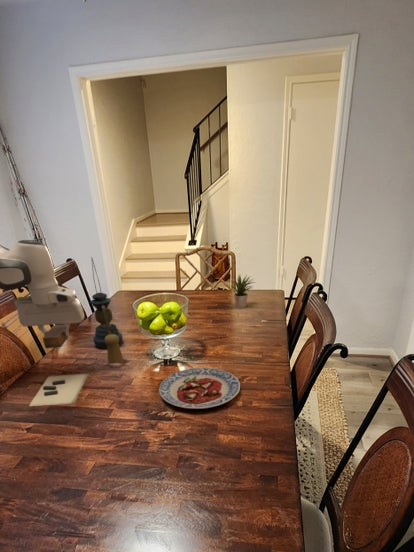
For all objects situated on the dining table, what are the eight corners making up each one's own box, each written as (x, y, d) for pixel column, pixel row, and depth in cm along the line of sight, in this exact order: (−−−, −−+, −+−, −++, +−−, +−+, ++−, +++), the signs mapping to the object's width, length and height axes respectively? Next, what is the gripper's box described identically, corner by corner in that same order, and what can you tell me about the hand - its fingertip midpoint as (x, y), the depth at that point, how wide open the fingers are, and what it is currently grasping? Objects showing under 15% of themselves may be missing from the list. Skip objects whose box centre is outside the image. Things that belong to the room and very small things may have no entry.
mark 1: (43, 390, 122) (42, 387, 122) (45, 388, 123) (44, 385, 123) (54, 390, 122) (54, 387, 121) (56, 388, 123) (55, 386, 122)
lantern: (127, 346, 153) (112, 257, 135) (98, 353, 149) (79, 262, 131) (118, 335, 164) (103, 252, 146) (91, 341, 160) (72, 256, 142)
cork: (116, 358, 144) (111, 331, 138) (127, 361, 141) (122, 334, 135) (104, 363, 140) (99, 336, 134) (115, 367, 137) (110, 339, 131)
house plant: (246, 313, 183) (246, 279, 174) (222, 309, 189) (221, 276, 181) (258, 305, 193) (260, 272, 184) (235, 301, 199) (235, 270, 191)
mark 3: (52, 385, 125) (52, 383, 124) (53, 383, 126) (52, 381, 125) (65, 383, 125) (64, 381, 125) (65, 382, 126) (64, 379, 126)
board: (29, 409, 115) (28, 406, 114) (49, 378, 132) (48, 375, 131) (75, 406, 115) (74, 403, 114) (89, 376, 132) (88, 373, 131)
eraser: (45, 348, 120) (42, 338, 118) (56, 334, 130) (53, 325, 128) (61, 347, 120) (58, 337, 118) (70, 333, 130) (67, 324, 129)
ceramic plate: (249, 408, 110) (249, 399, 108) (162, 419, 107) (161, 410, 105) (230, 369, 131) (230, 362, 130) (157, 378, 128) (156, 370, 127)
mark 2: (44, 396, 119) (43, 393, 118) (45, 394, 120) (44, 392, 119) (57, 394, 119) (56, 391, 119) (58, 392, 120) (57, 390, 120)
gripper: (8, 300, 114) (22, 342, 121) (75, 295, 115) (85, 337, 122) (16, 294, 119) (29, 335, 127) (80, 290, 120) (89, 330, 127)
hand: (57, 336), depth 124 cm, fingers closed on eraser, 5 cm apart
